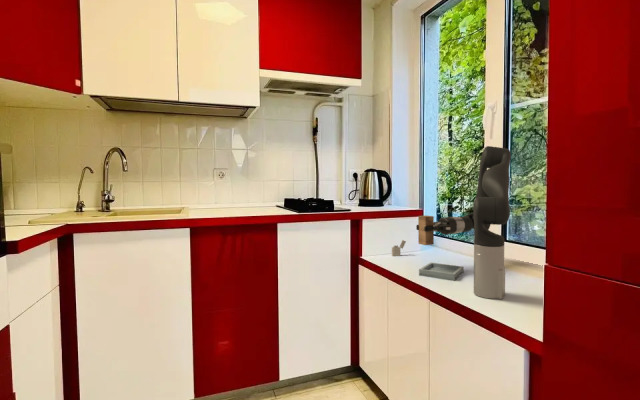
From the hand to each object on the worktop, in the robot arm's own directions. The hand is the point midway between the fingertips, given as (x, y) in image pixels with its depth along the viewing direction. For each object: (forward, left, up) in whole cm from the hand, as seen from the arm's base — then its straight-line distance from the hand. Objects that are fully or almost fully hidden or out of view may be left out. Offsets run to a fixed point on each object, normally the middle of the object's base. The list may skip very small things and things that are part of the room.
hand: (421, 228), depth 147 cm
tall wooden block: (-1, -2, -7) cm, 8 cm away
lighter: (+21, -24, -19) cm, 37 cm away
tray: (-8, -1, -19) cm, 21 cm away
